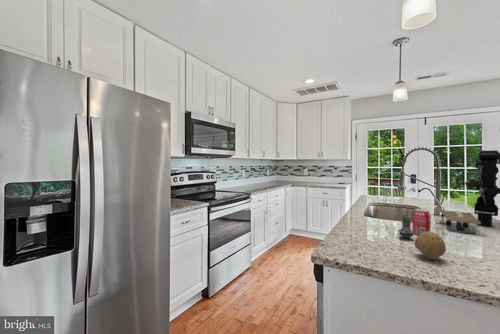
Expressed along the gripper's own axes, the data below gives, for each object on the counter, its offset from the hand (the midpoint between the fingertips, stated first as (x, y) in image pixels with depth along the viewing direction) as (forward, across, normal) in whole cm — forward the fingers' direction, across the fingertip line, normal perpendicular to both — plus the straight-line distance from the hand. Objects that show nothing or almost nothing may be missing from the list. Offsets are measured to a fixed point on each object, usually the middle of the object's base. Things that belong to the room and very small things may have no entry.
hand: (486, 205), depth 116 cm
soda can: (+13, +27, -28) cm, 41 cm away
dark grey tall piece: (+13, +39, -34) cm, 53 cm away
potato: (+13, +59, -27) cm, 66 cm away
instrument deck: (+7, +4, -11) cm, 14 cm away
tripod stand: (+13, +4, -11) cm, 17 cm away
